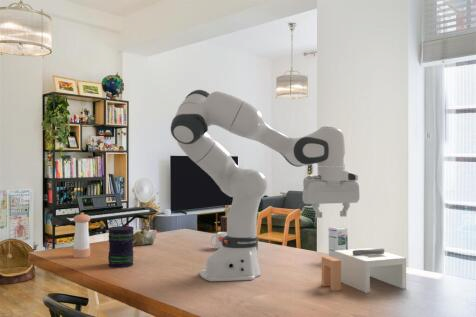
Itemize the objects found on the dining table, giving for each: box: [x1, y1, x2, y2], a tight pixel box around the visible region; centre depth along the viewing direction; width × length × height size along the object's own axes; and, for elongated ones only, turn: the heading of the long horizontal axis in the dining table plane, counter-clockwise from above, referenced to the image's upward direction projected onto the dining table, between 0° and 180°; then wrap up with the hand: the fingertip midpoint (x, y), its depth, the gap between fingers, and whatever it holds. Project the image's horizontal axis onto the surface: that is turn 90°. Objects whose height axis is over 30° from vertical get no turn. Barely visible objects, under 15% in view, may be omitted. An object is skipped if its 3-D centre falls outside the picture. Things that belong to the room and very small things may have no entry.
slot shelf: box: [334, 247, 407, 294], centre depth 144 cm, size 16×18×12 cm
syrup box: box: [328, 226, 349, 258], centre depth 178 cm, size 6×6×14 cm
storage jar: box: [107, 225, 135, 269], centre depth 169 cm, size 10×10×15 cm
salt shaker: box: [72, 212, 91, 259], centre depth 185 cm, size 7×7×19 cm
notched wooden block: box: [321, 255, 342, 292], centre depth 139 cm, size 3×7×10 cm, turn 20°
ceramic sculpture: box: [133, 228, 157, 246], centre depth 213 cm, size 11×9×15 cm
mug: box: [210, 231, 227, 250], centre depth 205 cm, size 12×8×8 cm
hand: (331, 217), depth 140 cm, fingers open, 8 cm apart
